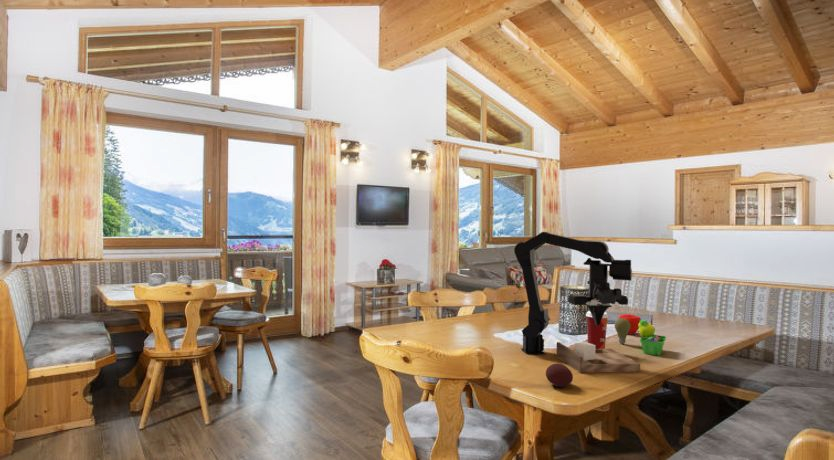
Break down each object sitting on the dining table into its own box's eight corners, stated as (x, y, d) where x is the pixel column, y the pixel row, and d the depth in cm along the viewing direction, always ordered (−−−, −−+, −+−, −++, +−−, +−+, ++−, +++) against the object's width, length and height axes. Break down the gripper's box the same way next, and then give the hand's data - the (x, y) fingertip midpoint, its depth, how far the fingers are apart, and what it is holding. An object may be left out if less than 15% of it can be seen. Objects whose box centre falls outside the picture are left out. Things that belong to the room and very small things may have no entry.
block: (584, 360, 154) (584, 346, 154) (574, 356, 158) (574, 343, 158) (595, 359, 156) (595, 345, 156) (585, 355, 160) (585, 342, 160)
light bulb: (614, 344, 185) (614, 318, 185) (614, 341, 190) (614, 316, 190) (630, 346, 183) (630, 320, 183) (629, 343, 188) (630, 317, 188)
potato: (543, 388, 135) (544, 366, 135) (547, 378, 143) (547, 358, 143) (571, 392, 132) (572, 370, 132) (573, 382, 141) (574, 361, 140)
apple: (644, 336, 200) (645, 317, 200) (623, 335, 201) (623, 317, 200) (635, 331, 209) (635, 313, 209) (614, 331, 209) (615, 313, 209)
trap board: (579, 372, 149) (580, 356, 149) (556, 356, 167) (556, 342, 167) (640, 371, 152) (640, 355, 152) (610, 355, 170) (610, 341, 170)
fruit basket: (663, 357, 169) (663, 324, 169) (635, 353, 174) (636, 321, 174) (666, 350, 179) (666, 319, 179) (639, 346, 183) (640, 316, 183)
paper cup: (609, 354, 171) (610, 314, 171) (586, 352, 173) (587, 313, 173) (605, 348, 179) (606, 311, 179) (583, 347, 180) (584, 310, 180)
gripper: (582, 281, 154) (581, 330, 154) (638, 281, 156) (637, 329, 156) (567, 277, 165) (567, 323, 165) (619, 277, 167) (618, 322, 167)
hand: (597, 325), depth 163 cm, fingers closed
